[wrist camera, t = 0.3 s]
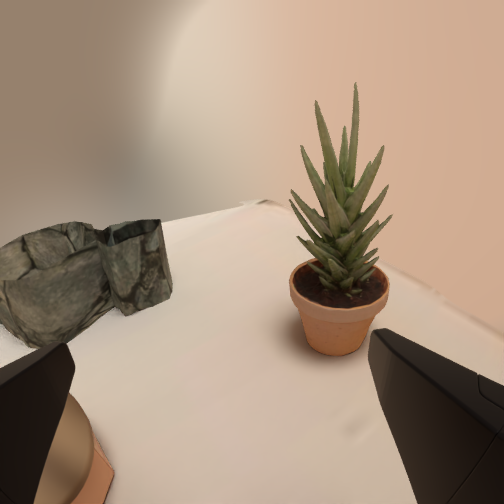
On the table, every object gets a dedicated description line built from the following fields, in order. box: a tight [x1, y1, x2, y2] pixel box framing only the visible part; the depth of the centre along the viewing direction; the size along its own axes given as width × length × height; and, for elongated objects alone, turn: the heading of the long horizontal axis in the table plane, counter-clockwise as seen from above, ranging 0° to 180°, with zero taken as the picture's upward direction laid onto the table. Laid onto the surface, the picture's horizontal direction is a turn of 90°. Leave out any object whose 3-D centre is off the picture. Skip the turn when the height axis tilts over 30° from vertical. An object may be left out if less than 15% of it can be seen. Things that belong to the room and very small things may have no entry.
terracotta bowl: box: [71, 431, 114, 504], centre depth 16 cm, size 12×12×4 cm
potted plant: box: [289, 83, 392, 356], centre depth 27 cm, size 10×10×25 cm
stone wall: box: [0, 219, 173, 349], centre depth 38 cm, size 35×19×10 cm, turn 105°
